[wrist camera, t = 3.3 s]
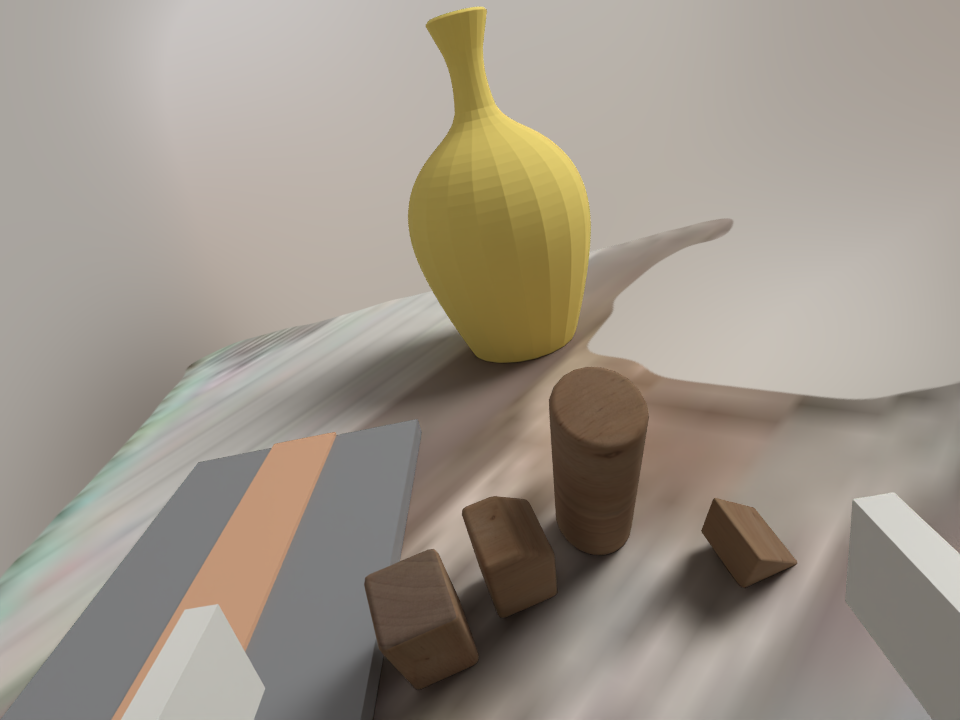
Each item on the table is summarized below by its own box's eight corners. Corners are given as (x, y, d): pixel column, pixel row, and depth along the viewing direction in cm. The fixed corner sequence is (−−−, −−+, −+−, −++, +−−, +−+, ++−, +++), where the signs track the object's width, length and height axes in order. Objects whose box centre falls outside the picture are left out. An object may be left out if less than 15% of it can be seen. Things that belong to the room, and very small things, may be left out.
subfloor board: (421, 432, 44) (416, 415, 43) (364, 766, 22) (352, 742, 21) (204, 474, 45) (196, 459, 45) (-50, 824, 23) (-73, 804, 23)
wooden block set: (435, 745, 24) (370, 693, 17) (386, 564, 30) (321, 463, 22) (787, 578, 27) (869, 467, 19) (681, 440, 33) (712, 313, 25)
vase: (421, 344, 60) (336, 53, 48) (549, 295, 65) (499, 19, 53) (485, 399, 46) (387, 8, 35) (642, 331, 51) (602, -32, 39)
